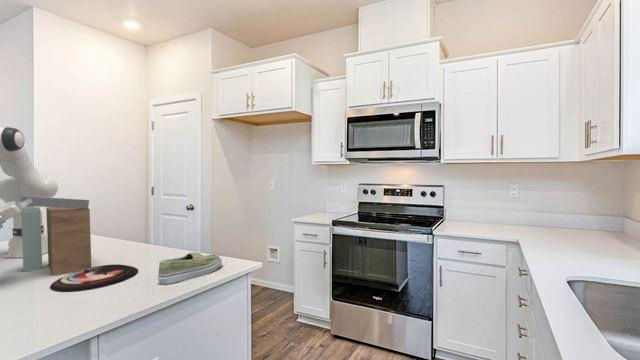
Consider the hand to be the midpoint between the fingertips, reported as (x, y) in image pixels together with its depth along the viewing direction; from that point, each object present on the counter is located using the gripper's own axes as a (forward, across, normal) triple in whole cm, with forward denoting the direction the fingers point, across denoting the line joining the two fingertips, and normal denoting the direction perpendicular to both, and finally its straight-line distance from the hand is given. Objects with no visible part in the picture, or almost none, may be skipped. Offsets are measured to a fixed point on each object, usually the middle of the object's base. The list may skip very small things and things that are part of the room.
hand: (31, 199), depth 132 cm
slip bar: (+5, 0, +7) cm, 8 cm away
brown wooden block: (-5, +8, +33) cm, 34 cm away
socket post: (-16, +16, +27) cm, 35 cm away
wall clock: (0, -19, +36) cm, 41 cm away
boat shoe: (+25, -42, +51) cm, 70 cm away
